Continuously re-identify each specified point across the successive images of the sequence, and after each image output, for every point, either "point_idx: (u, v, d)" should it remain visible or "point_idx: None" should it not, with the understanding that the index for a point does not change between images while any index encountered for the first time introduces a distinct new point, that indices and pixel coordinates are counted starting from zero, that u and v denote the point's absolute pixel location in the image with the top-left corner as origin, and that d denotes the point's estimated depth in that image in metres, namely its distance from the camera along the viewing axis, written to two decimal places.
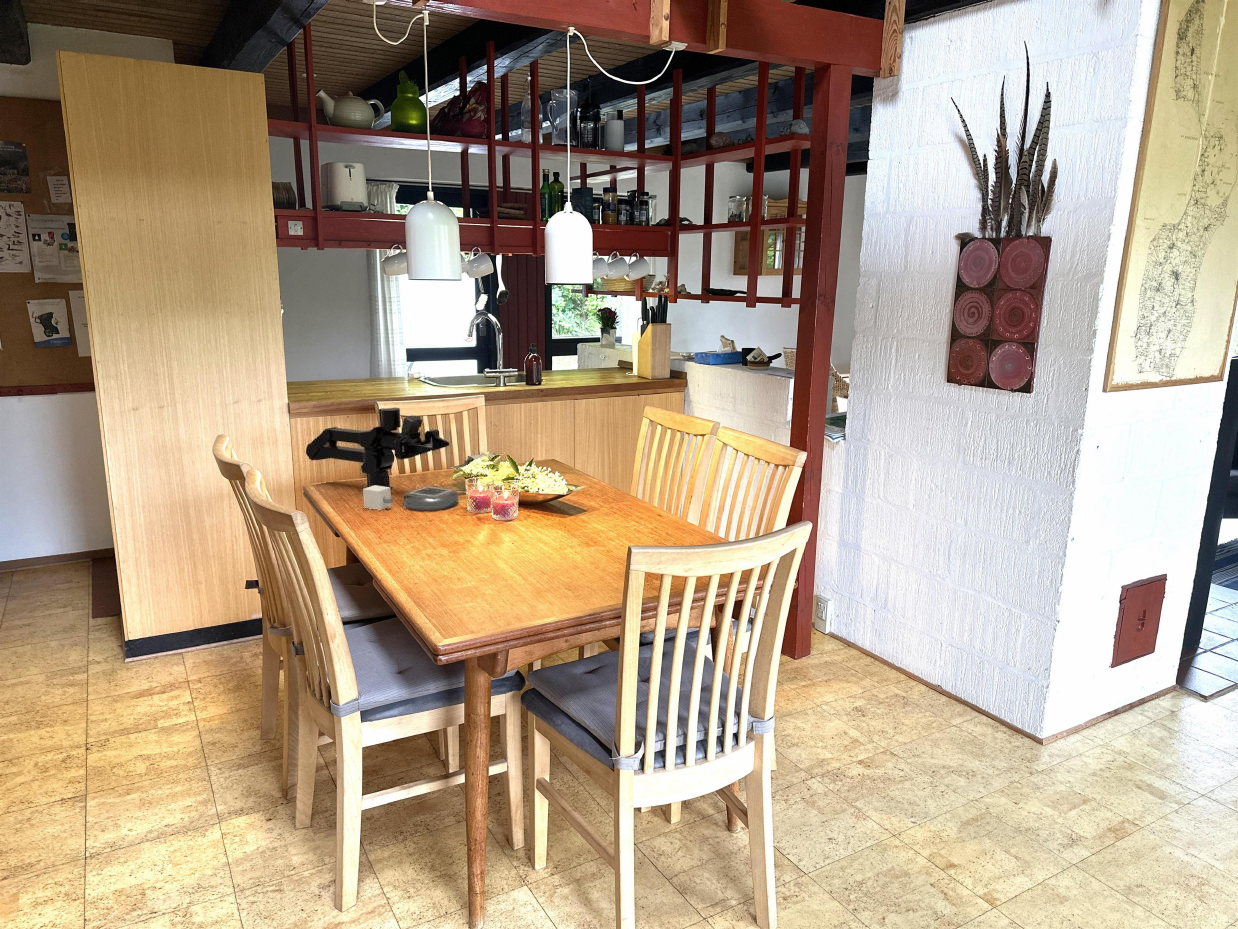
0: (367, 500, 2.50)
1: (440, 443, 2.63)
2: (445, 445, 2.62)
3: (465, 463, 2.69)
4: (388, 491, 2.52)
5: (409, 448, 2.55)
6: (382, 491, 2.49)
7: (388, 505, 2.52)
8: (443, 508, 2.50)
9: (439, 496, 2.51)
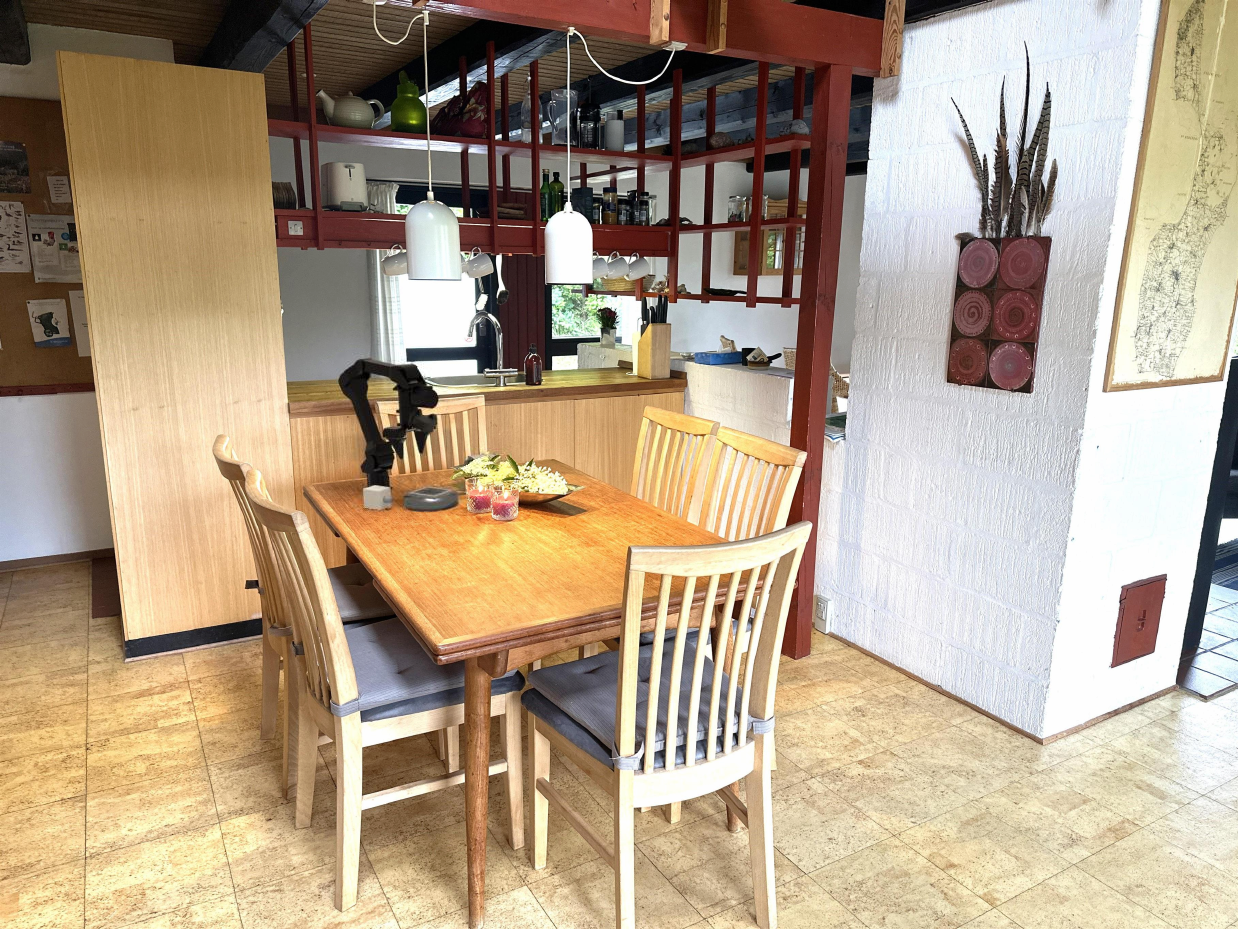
0: (367, 499, 2.50)
1: (420, 442, 2.64)
2: (419, 449, 2.65)
3: (465, 463, 2.69)
4: (388, 491, 2.52)
5: None
6: (382, 491, 2.49)
7: (388, 505, 2.52)
8: (443, 508, 2.50)
9: (439, 496, 2.51)
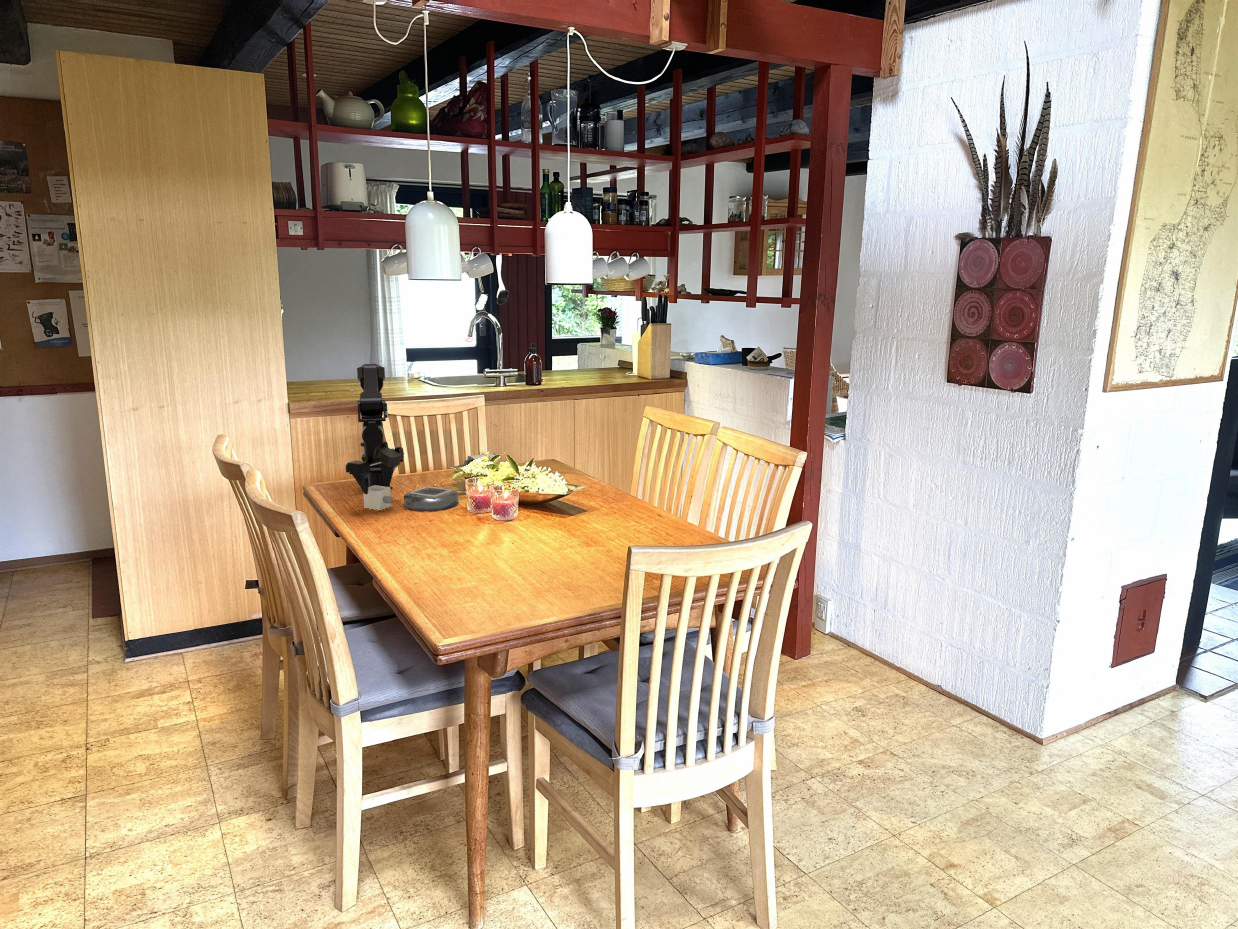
0: (367, 499, 2.50)
1: (386, 476, 2.55)
2: (385, 482, 2.55)
3: (465, 463, 2.69)
4: (388, 491, 2.52)
5: None
6: (382, 491, 2.49)
7: (388, 505, 2.52)
8: (443, 508, 2.50)
9: (439, 496, 2.51)
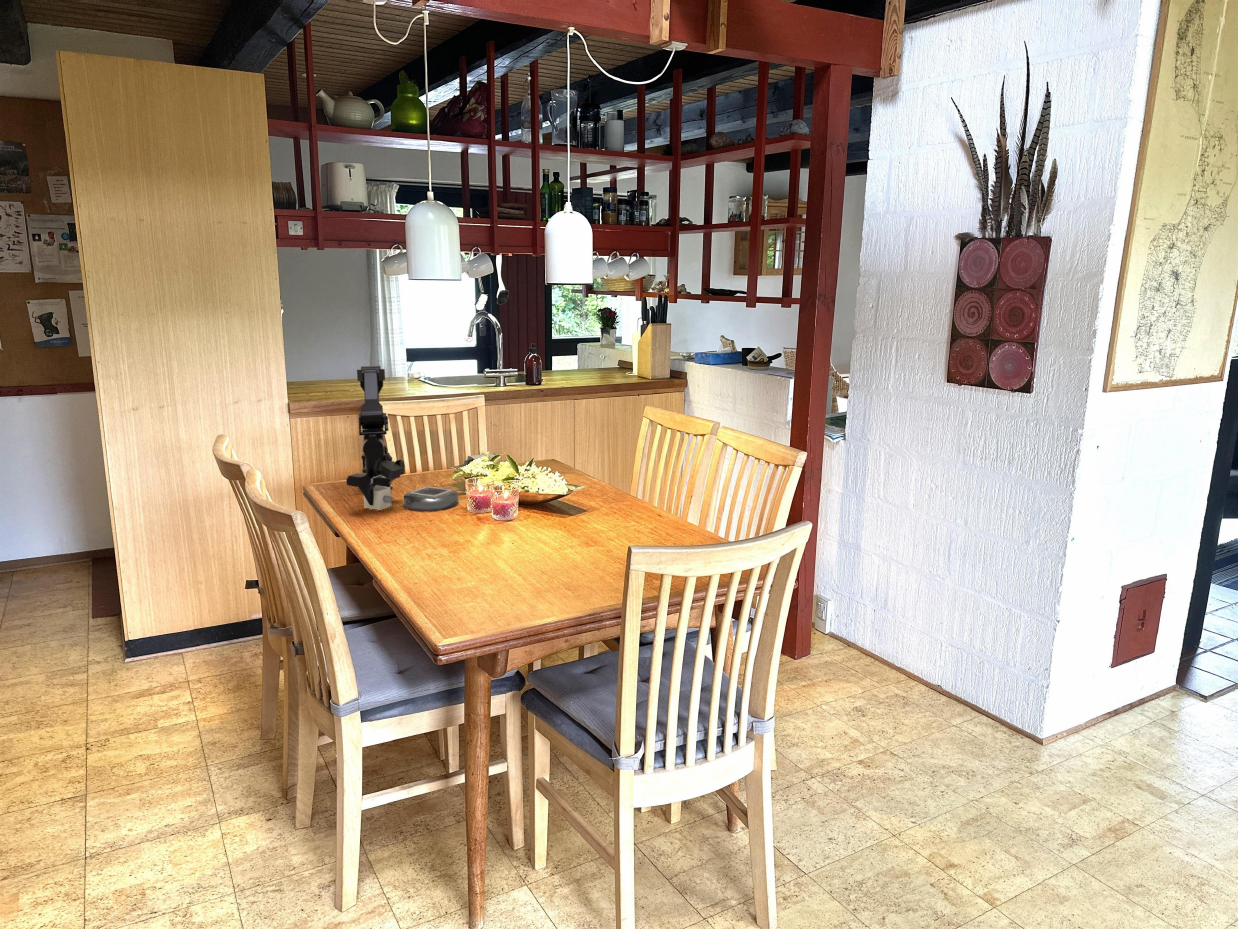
0: None
1: None
2: None
3: (465, 463, 2.69)
4: (388, 491, 2.52)
5: None
6: (382, 491, 2.49)
7: (388, 505, 2.52)
8: (443, 508, 2.50)
9: (439, 496, 2.51)
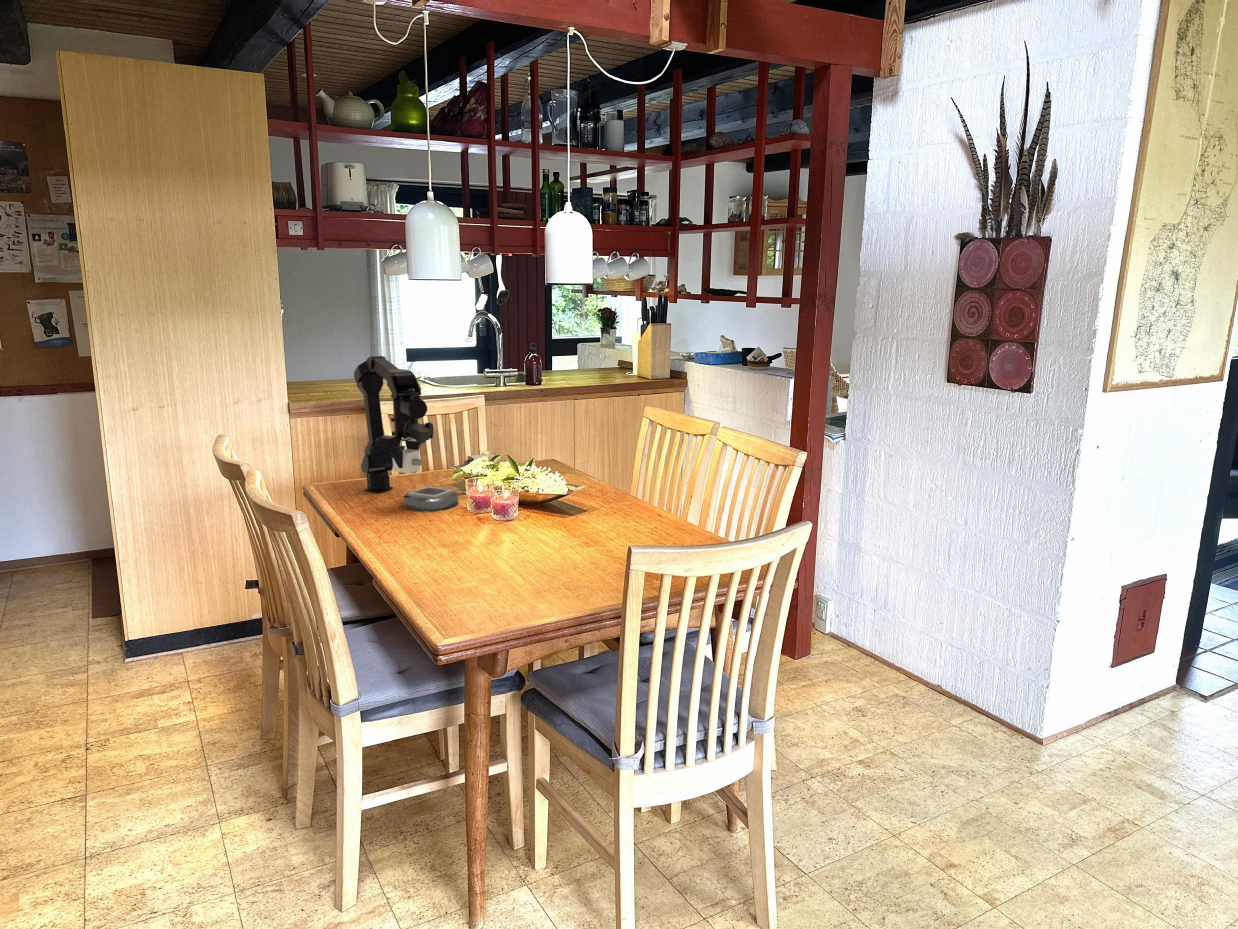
0: None
1: None
2: None
3: (465, 463, 2.69)
4: (417, 454, 2.51)
5: None
6: (411, 453, 2.48)
7: (417, 468, 2.51)
8: (443, 508, 2.50)
9: (439, 496, 2.51)
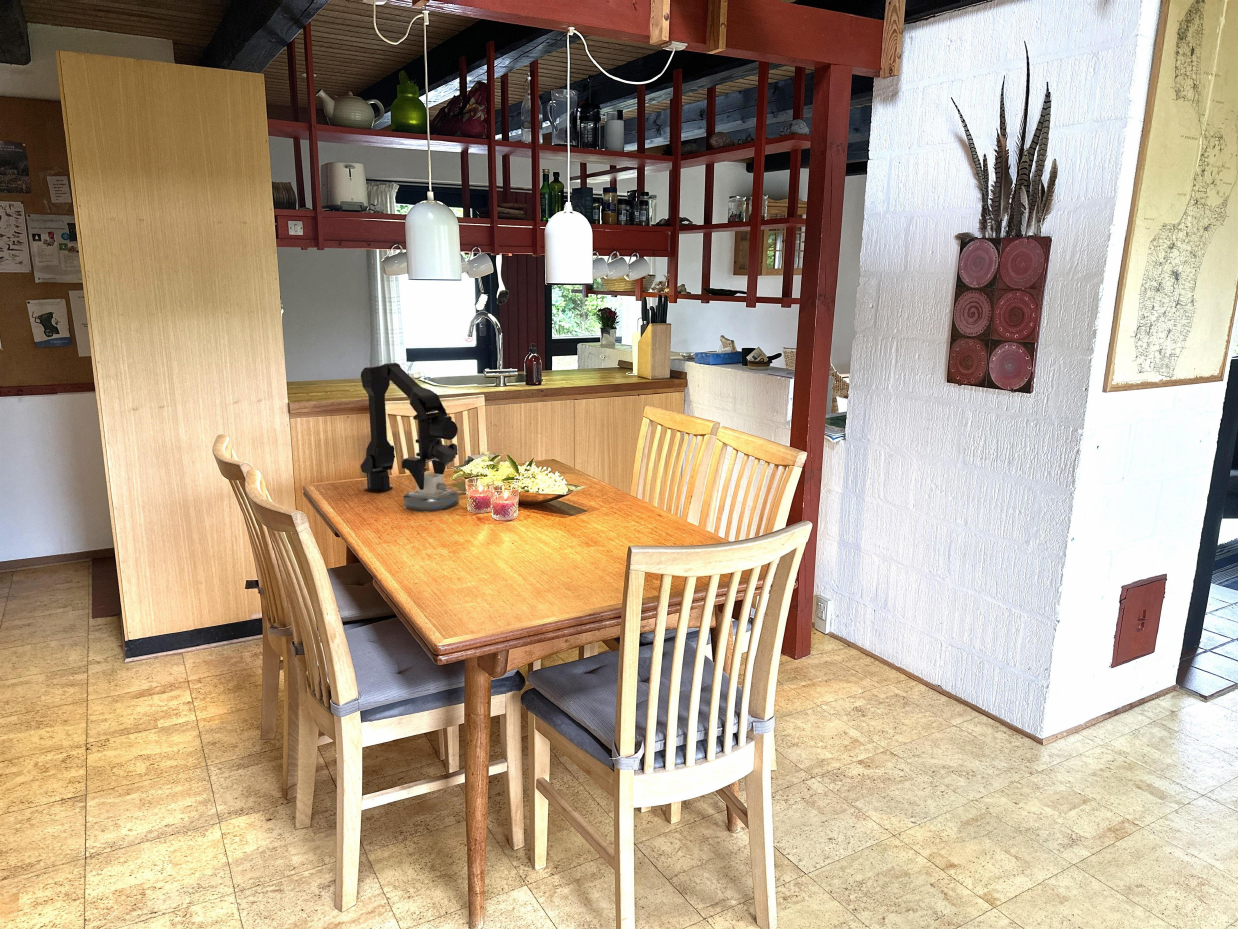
0: None
1: (438, 472, 2.58)
2: None
3: (465, 463, 2.69)
4: (441, 478, 2.54)
5: None
6: (436, 478, 2.52)
7: (441, 492, 2.55)
8: (443, 508, 2.50)
9: (439, 496, 2.51)
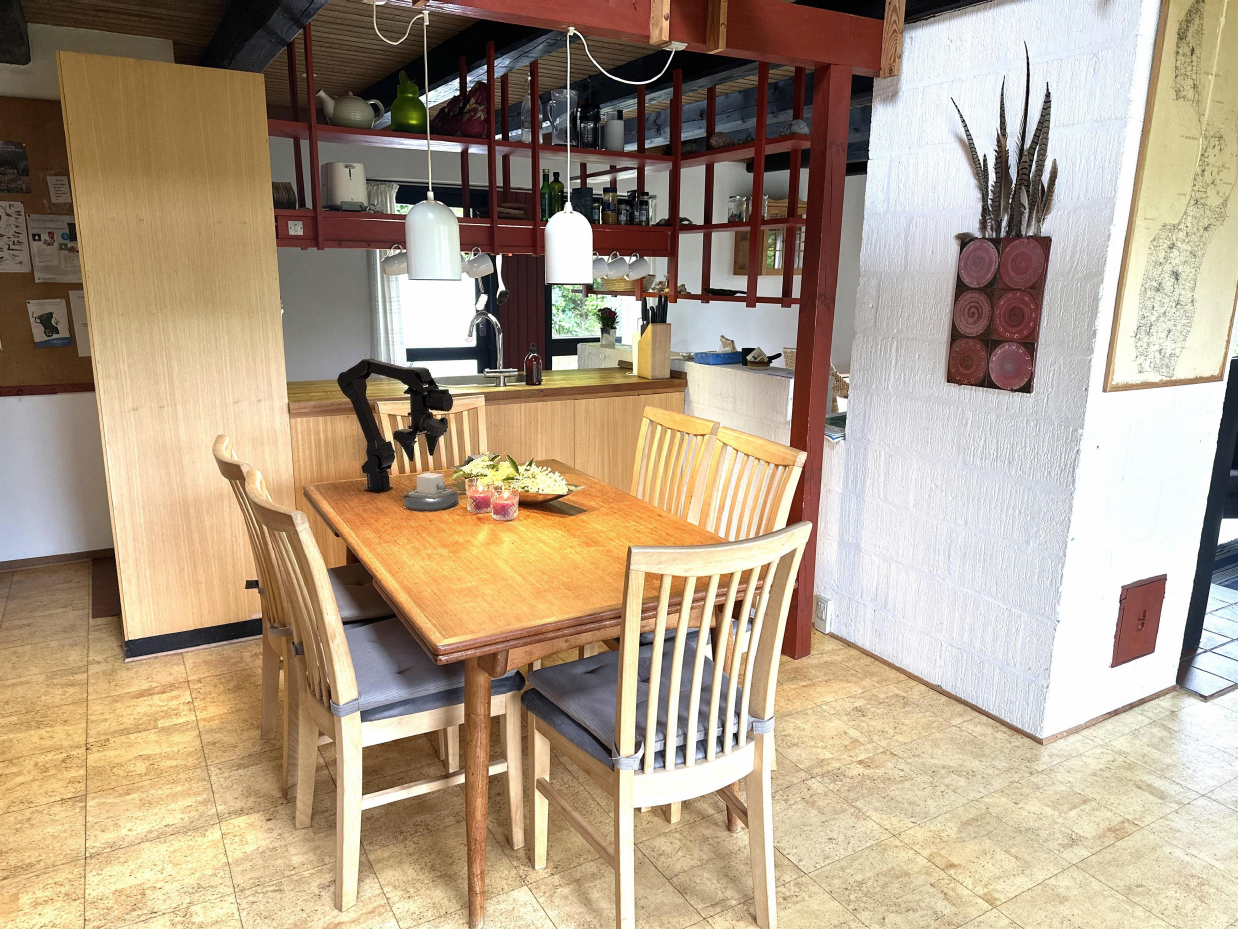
0: (420, 486, 2.53)
1: (430, 445, 2.67)
2: (429, 451, 2.68)
3: (465, 463, 2.69)
4: (441, 478, 2.54)
5: None
6: (436, 478, 2.52)
7: (441, 492, 2.55)
8: (443, 508, 2.50)
9: (439, 496, 2.51)
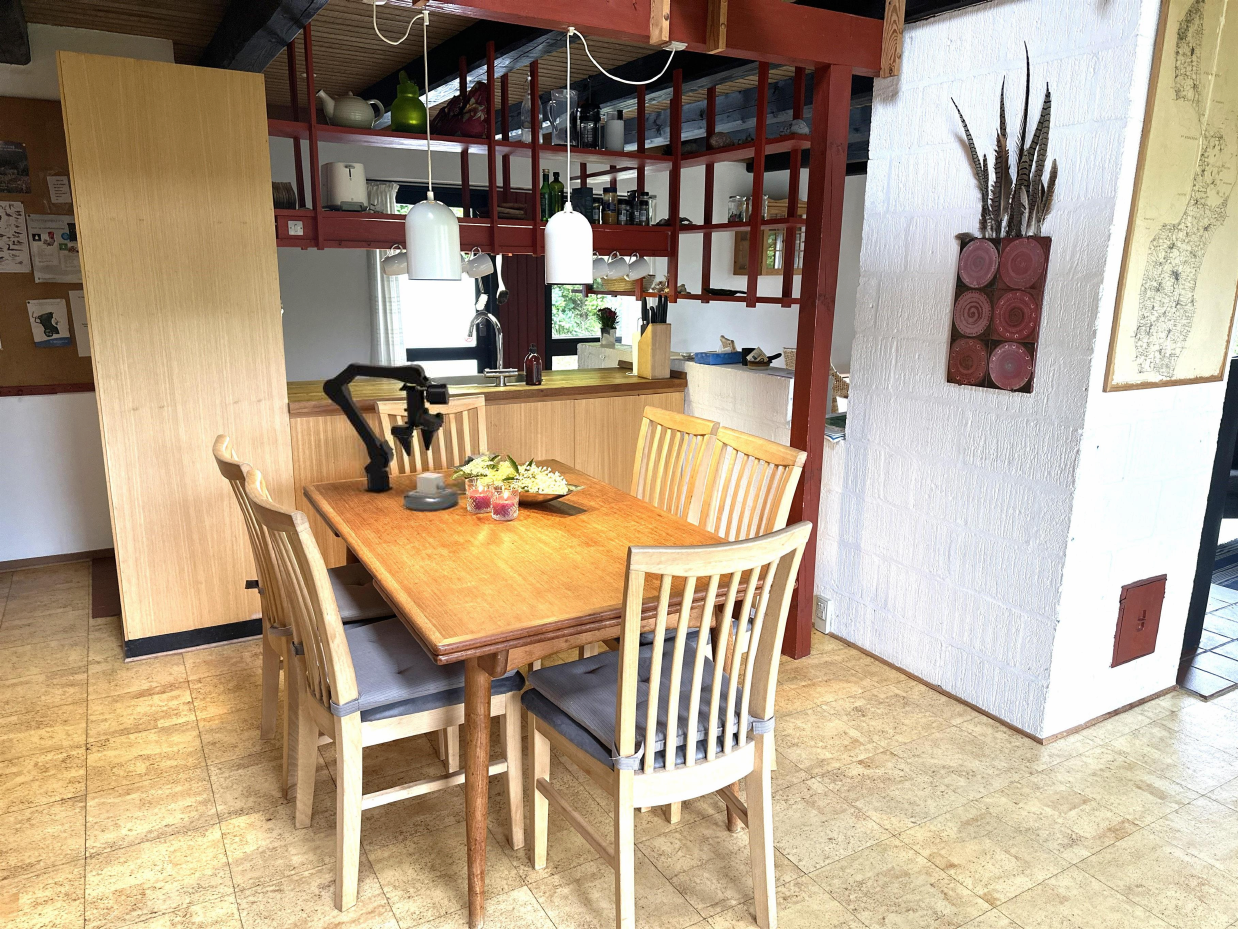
0: (420, 486, 2.53)
1: (426, 440, 2.73)
2: (425, 446, 2.74)
3: (465, 463, 2.69)
4: (441, 478, 2.54)
5: None
6: (436, 478, 2.52)
7: (441, 492, 2.55)
8: (443, 508, 2.50)
9: (439, 496, 2.51)
